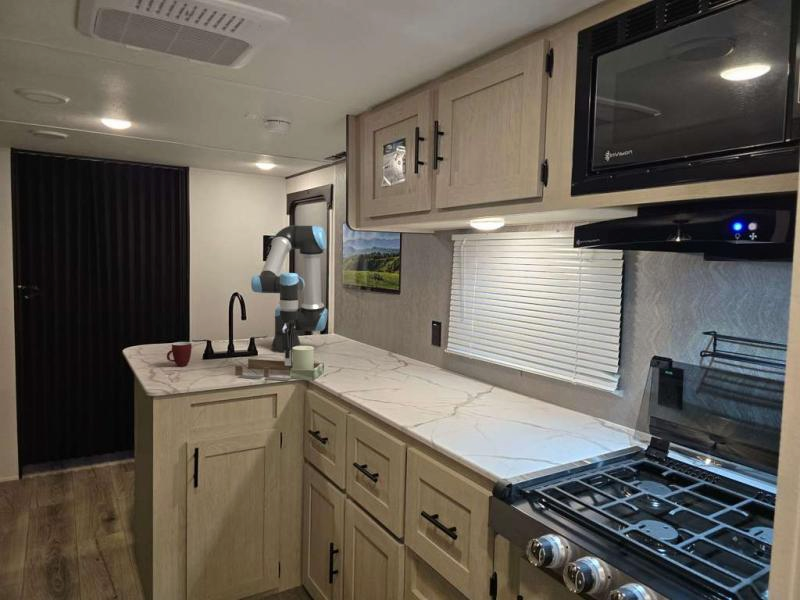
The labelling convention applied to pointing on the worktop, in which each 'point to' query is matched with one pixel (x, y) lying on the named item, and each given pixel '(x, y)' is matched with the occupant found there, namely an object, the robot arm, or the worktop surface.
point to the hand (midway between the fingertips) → (288, 365)
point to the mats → (265, 378)
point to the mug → (180, 353)
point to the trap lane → (280, 365)
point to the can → (303, 357)
